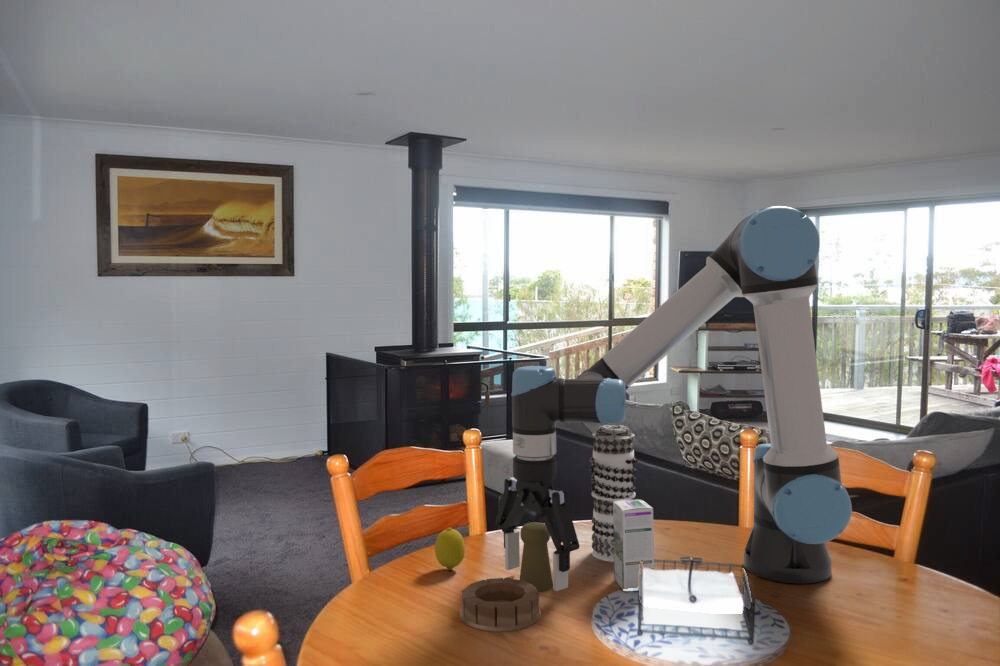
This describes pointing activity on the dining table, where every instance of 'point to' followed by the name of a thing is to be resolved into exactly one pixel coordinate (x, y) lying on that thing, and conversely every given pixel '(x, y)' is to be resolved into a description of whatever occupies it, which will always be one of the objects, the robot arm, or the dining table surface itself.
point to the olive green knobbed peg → (536, 556)
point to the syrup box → (632, 540)
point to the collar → (500, 605)
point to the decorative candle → (610, 483)
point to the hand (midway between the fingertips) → (535, 578)
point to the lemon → (449, 548)
